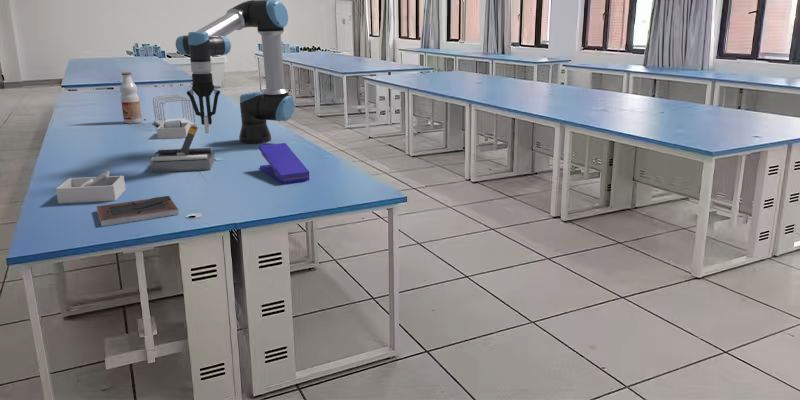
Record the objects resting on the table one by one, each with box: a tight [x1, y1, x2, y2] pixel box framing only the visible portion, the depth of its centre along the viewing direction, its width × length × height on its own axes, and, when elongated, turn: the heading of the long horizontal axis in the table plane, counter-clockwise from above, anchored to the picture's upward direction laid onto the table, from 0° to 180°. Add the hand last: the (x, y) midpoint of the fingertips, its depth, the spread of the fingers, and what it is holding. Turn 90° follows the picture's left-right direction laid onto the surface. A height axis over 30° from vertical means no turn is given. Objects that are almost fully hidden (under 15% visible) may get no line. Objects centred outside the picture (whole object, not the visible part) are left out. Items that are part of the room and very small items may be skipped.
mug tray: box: [156, 122, 190, 140], centre depth 309 cm, size 14×16×5 cm
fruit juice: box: [119, 71, 143, 125], centre depth 343 cm, size 9×9×28 cm
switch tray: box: [55, 175, 126, 204], centre depth 206 cm, size 18×14×5 cm
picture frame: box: [96, 195, 180, 227], centre depth 189 cm, size 16×2×22 cm
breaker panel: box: [150, 147, 216, 174], centre depth 245 cm, size 22×16×6 cm
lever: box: [181, 125, 199, 154], centre depth 244 cm, size 3×7×13 cm, turn 11°
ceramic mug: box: [164, 120, 182, 128], centre depth 307 cm, size 11×8×8 cm
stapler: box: [258, 142, 310, 184], centre depth 232 cm, size 12×28×10 cm, turn 30°
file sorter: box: [152, 94, 198, 127], centre depth 336 cm, size 25×17×16 cm
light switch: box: [81, 170, 111, 187], centre depth 205 cm, size 8×6×14 cm
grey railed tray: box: [150, 147, 212, 162], centre depth 245 cm, size 21×15×2 cm
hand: (207, 132), depth 244 cm, fingers closed
